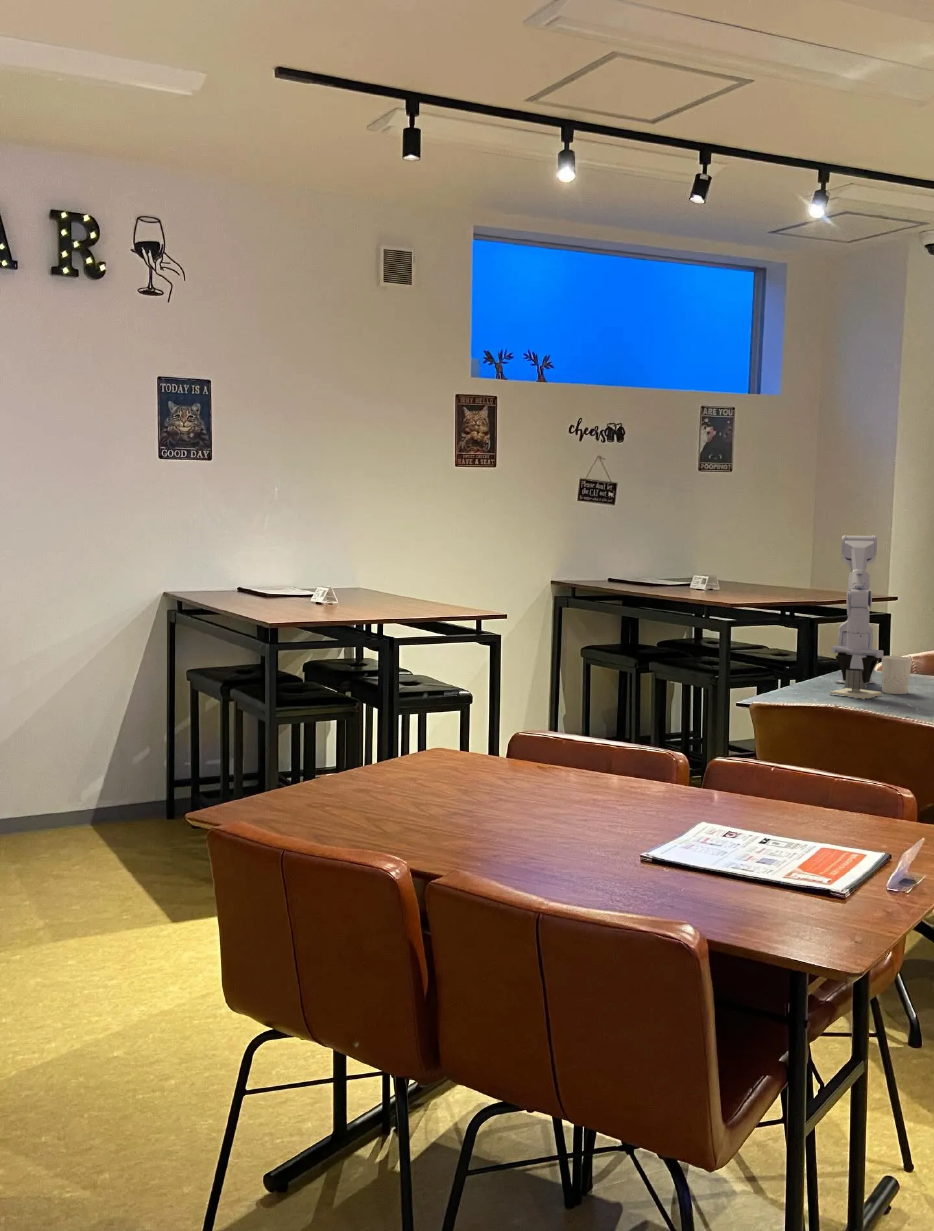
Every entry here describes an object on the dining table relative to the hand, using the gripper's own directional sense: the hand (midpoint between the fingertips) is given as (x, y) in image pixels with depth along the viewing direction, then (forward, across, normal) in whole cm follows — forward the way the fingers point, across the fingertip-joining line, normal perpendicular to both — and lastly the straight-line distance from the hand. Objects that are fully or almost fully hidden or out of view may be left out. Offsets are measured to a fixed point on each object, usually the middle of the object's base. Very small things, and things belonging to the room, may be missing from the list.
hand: (856, 681), depth 332 cm
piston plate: (+4, 0, 0) cm, 4 cm away
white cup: (+4, +5, +13) cm, 15 cm away
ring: (+2, 0, 0) cm, 2 cm away
